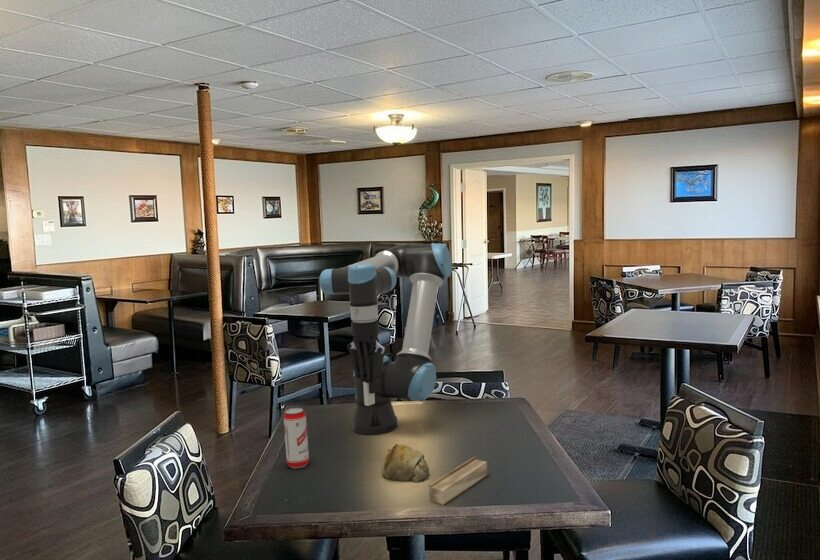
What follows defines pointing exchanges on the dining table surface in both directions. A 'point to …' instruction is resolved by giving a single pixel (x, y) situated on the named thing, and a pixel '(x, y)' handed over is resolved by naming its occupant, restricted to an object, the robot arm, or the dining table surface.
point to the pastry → (404, 464)
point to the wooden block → (457, 481)
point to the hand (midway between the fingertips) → (369, 404)
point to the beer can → (296, 438)
